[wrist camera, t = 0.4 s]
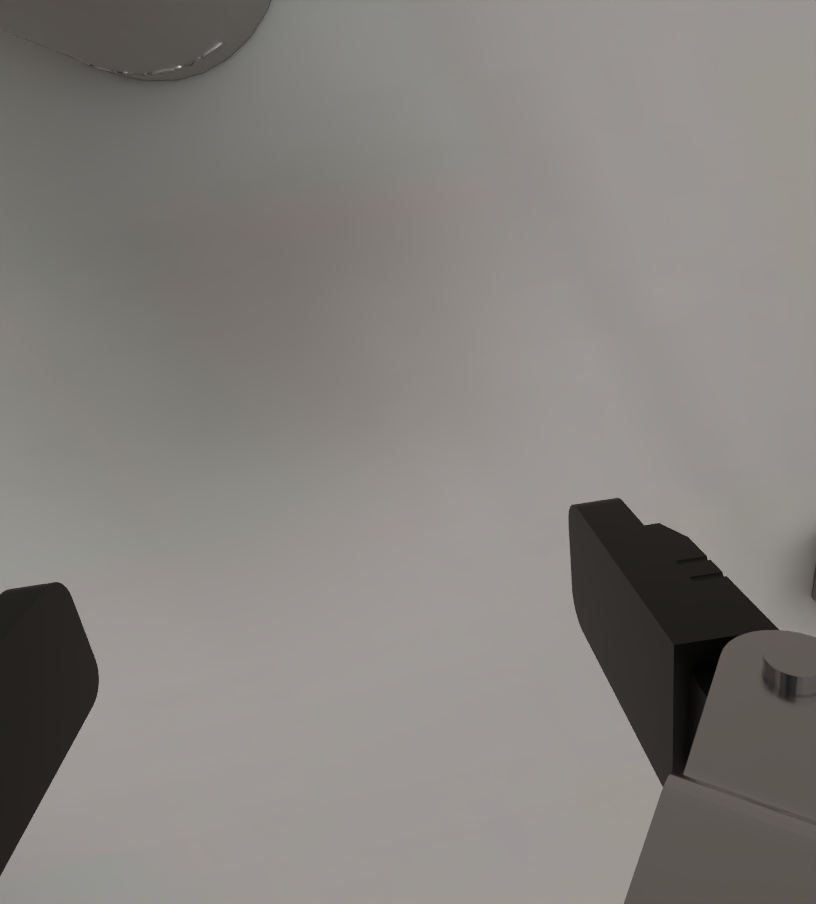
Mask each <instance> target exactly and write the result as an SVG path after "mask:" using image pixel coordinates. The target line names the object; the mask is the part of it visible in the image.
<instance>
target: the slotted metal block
mask: <svg viewBox="0 0 816 904" xmlns="http://www.w3.org/2000/svg"><path fill="white" fill-rule="evenodd" d="M812 598H813V599H814V600H815V601H816V571H815V578H814V585H813V592H812Z"/></svg>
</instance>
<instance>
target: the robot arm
mask: <svg viewBox="0 0 816 904" xmlns="http://www.w3.org/2000/svg"><path fill="white" fill-rule="evenodd" d="M270 1H271V0H0V29H1V30H4V31H6V32H9V33H11V34H14V35H16V36H19V37H22V38H24V39H27V40H29V41H32V42H35V43H37V44H40V45H42V46H45V47H47V48H50V49H52V50H55V51H58V52H60V53H63V54H65V55H68V56H70V57H73V58H75V59H78V60H81V61H83V62H85V64H86V65H89V66H92V67H94V68H98V69H101V70H104V71H107V72H111V73H115V74H117V75H122V76H127V77H132V78H137V79H142V80H147V81H154V80H178V79H181V78H185V77H188V76H192V75H196V74H199V73H203V72H205V71H207V70H209V69H210V68H212V67H214V66H215V65H217V64H219V63H221V62H222V61H224V60H226V59H228V58H229V57H230V56H231V55H232V54H233V53H234V52H235V51H236V50H237V49H238V48H239V47H240V46H241V45H242V44H244V43H245V42H246V41H247V40H248V39H249V38H250V36H251V35H252V33H253V32H254V30H255V29H256V27H257V26H258V24H259V22H260V21H261V19H262V18H263V16H264V15H265V13H266V12H267V9H268V7H269V4H270ZM569 538H570V556H571V575H572V592H573V599H574V605H575V610H576V614H577V617H578V620H579V623H580V626H581V629H582V631H583V633H584V635H585V637H586V639H587V641H588V642H589V644H590V646H591V648H592V650H593V652H594V654H595V656H596V658H597V660H598V662H599V664H600V666H601V668H602V670H603V672H604V674H605V675H606V677H607V679H608V681H609V683H610V685H611V687H612V689H613V691H614V693H615V695H616V697H617V699H618V701H619V703H620V705H621V707H622V708H623V710H624V712H625V714H626V716H627V718H628V720H629V722H630V724H631V726H632V728H633V730H634V732H635V734H636V736H637V738H638V740H639V741H640V743H641V745H642V747H643V749H644V751H645V753H646V755H647V757H648V759H649V761H650V763H651V765H652V767H653V769H654V771H655V773H656V774H657V776H658V778H659V780H660V782H661V784H662V786H663V789H662V792H661V795H660V798H659V801H658V804H657V807H656V810H655V813H654V816H653V819H652V822H651V825H650V828H649V830H648V833H647V836H646V839H645V842H644V845H643V848H642V851H641V854H640V857H639V860H638V863H637V866H636V869H635V872H634V875H633V878H632V881H631V884H630V887H629V890H628V893H627V896H626V899H625V902H624V904H816V637H813V636H809V635H806V634H802V633H797V632H791V631H782V630H779V629H778V628H777V627H776V626H775V625H774V624H773V623H772V622H771V621H770V620H769V619H768V618H767V617H766V616H765V615H764V614H763V613H762V612H761V611H760V610H759V609H758V608H757V607H756V606H755V605H754V604H753V603H752V602H751V601H750V600H749V599H748V598H747V597H746V596H745V595H744V594H743V593H742V592H741V591H740V590H739V588H738V587H737V586H736V585H735V584H734V583H733V582H732V581H731V580H730V579H729V578H728V577H727V576H725V577H724V576H723V573H722V571H721V570H720V569H719V568H718V567H717V566H716V565H715V564H714V563H713V562H712V561H711V560H707V556H706V555H705V554H704V553H703V552H702V551H701V550H700V549H699V548H698V547H697V546H696V545H695V544H694V543H693V542H692V541H691V540H690V539H689V538H688V537H687V536H685V535H682V534H680V533H678V532H676V531H674V530H672V529H670V528H668V527H666V526H664V525H662V524H660V523H657V524H651V525H643V524H642V522H641V521H640V520H639V519H638V518H637V517H636V516H635V515H634V513H633V512H632V511H631V510H630V509H629V508H628V507H627V505H626V504H625V503H624V502H623V501H622V500H621V499H619V498H614V499H608V500H601V501H595V502H588V503H581V504H575V505H571V507H570V509H569ZM98 684H99V675H98V667H97V663H96V660H95V657H94V655H93V652H92V649H91V647H90V644H89V641H88V639H87V636H86V634H85V631H84V628H83V626H82V623H81V620H80V618H79V615H78V612H77V610H76V607H75V604H74V602H73V599H72V597H71V594H70V592H69V591H68V589H67V588H66V587H65V586H64V585H63V584H61V583H58V582H54V583H48V584H41V585H34V586H28V587H21V588H15V589H9V590H6V591H4V592H3V593H1V594H0V875H1V873H2V872H3V870H4V868H5V866H6V864H7V862H8V861H9V859H10V857H11V855H12V853H13V851H14V850H15V848H16V846H17V844H18V842H19V840H20V839H21V837H22V835H23V833H24V831H25V829H26V828H27V826H28V824H29V822H30V820H31V818H32V817H33V815H34V813H35V811H36V809H37V807H38V806H39V804H40V802H41V800H42V798H43V796H44V795H45V793H46V791H47V789H48V787H49V785H50V784H51V782H52V780H53V778H54V776H55V774H56V773H57V771H58V769H59V767H60V765H61V763H62V762H63V760H64V758H65V756H66V754H67V752H68V751H69V749H70V747H71V745H72V743H73V741H74V740H75V738H76V736H77V734H78V732H79V730H80V729H81V727H82V725H83V723H84V721H85V719H86V718H87V716H88V714H89V712H90V710H91V708H92V707H93V705H94V702H95V700H96V697H97V692H98Z"/></svg>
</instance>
